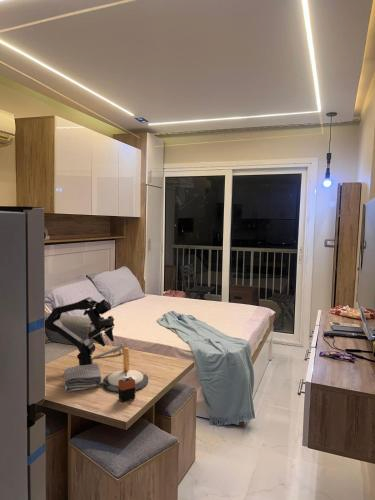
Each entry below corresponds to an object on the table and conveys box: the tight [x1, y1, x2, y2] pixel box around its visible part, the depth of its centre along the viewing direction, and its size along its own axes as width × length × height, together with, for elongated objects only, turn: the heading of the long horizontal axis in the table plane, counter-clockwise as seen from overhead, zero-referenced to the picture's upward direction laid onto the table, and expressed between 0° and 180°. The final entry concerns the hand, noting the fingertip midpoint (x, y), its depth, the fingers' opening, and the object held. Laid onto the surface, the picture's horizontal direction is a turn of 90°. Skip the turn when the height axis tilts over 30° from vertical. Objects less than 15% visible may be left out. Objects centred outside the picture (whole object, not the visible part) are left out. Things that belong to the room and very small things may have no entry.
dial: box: [108, 347, 143, 387], centre depth 185 cm, size 18×18×13 cm
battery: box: [118, 377, 136, 403], centre depth 168 cm, size 4×7×10 cm, turn 123°
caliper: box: [92, 343, 125, 360], centre depth 221 cm, size 20×1×6 cm, turn 119°
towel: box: [64, 362, 103, 393], centre depth 183 cm, size 15×18×8 cm
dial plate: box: [102, 370, 149, 394], centre depth 185 cm, size 23×23×2 cm
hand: (108, 343), depth 198 cm, fingers open, 9 cm apart
